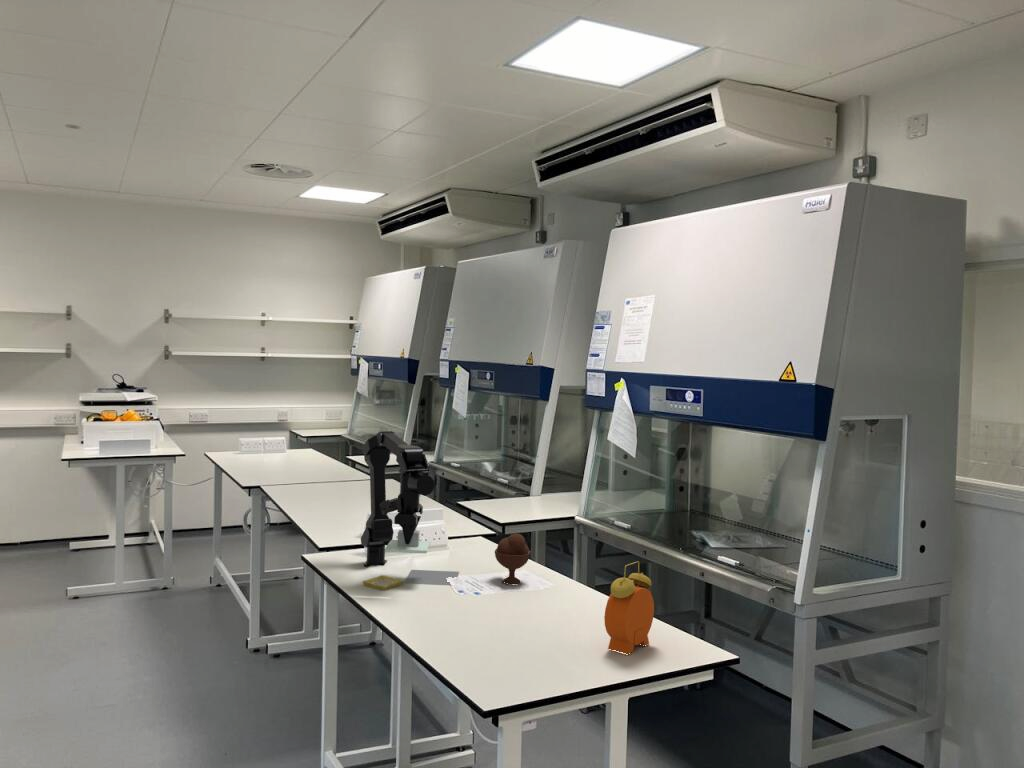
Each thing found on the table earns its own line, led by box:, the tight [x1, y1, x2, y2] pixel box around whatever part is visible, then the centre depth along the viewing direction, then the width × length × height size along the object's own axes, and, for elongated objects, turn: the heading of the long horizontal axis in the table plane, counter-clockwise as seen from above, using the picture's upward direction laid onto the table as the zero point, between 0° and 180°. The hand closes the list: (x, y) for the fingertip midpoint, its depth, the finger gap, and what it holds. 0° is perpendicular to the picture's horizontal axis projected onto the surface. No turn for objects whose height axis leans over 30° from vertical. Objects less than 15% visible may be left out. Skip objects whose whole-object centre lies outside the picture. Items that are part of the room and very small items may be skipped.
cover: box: [385, 529, 432, 554], centre depth 233 cm, size 12×12×5 cm
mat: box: [403, 569, 460, 586], centre depth 238 cm, size 15×15×1 cm
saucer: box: [362, 575, 404, 591], centre depth 229 cm, size 9×9×2 cm
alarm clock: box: [603, 561, 655, 654], centre depth 187 cm, size 13×6×20 cm, turn 141°
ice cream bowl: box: [494, 533, 531, 585], centre depth 238 cm, size 11×11×15 cm
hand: (408, 542), depth 233 cm, fingers closed on cover, 3 cm apart
